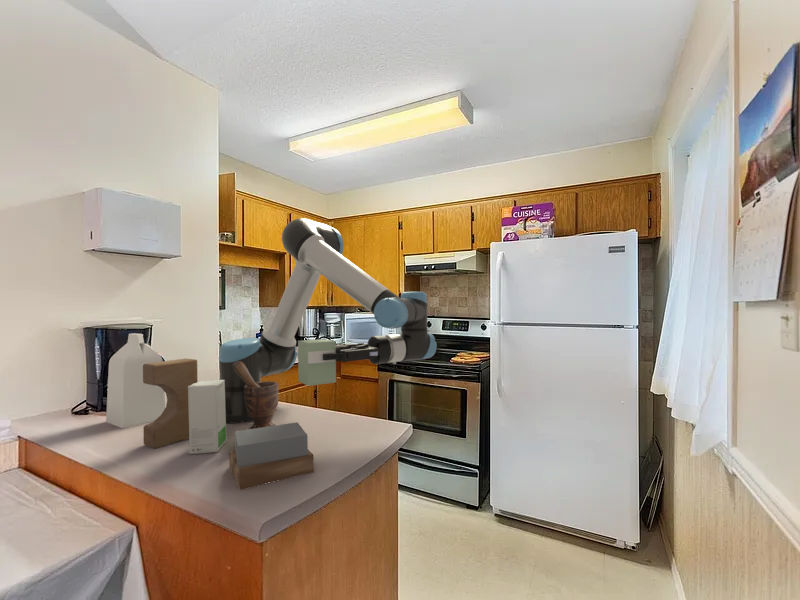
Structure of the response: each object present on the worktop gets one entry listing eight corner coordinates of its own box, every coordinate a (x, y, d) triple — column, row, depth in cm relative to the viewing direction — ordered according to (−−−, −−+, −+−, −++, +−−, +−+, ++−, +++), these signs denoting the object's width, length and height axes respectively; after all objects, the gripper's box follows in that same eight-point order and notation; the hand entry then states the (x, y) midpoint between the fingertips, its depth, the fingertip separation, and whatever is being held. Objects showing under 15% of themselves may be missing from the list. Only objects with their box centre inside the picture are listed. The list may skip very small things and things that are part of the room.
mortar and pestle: (255, 445, 96) (254, 362, 96) (227, 441, 99) (226, 361, 100) (285, 430, 107) (284, 356, 107) (260, 427, 110) (259, 355, 110)
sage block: (298, 381, 98) (298, 340, 99) (325, 378, 102) (324, 339, 102) (308, 385, 93) (307, 342, 93) (336, 382, 96) (335, 341, 96)
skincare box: (217, 453, 91) (216, 385, 92) (186, 455, 90) (185, 386, 90) (227, 440, 100) (226, 378, 100) (199, 442, 99) (198, 379, 99)
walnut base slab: (229, 470, 83) (229, 450, 83) (295, 455, 90) (295, 438, 90) (240, 492, 73) (239, 471, 73) (313, 474, 80) (313, 454, 80)
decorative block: (153, 449, 94) (152, 365, 95) (142, 445, 98) (141, 363, 98) (199, 436, 103) (198, 359, 104) (188, 432, 107) (187, 358, 107)
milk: (106, 421, 118) (105, 334, 119) (148, 412, 128) (147, 332, 128) (123, 428, 112) (122, 335, 112) (166, 418, 121) (165, 333, 121)
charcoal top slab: (235, 450, 83) (234, 431, 83) (297, 440, 89) (297, 422, 89) (238, 467, 74) (237, 446, 74) (307, 455, 80) (307, 435, 80)
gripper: (405, 367, 99) (318, 378, 87) (368, 358, 116) (290, 366, 104) (405, 337, 100) (317, 343, 87) (367, 333, 116) (290, 337, 104)
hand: (303, 356), depth 96 cm, fingers closed on sage block, 7 cm apart
